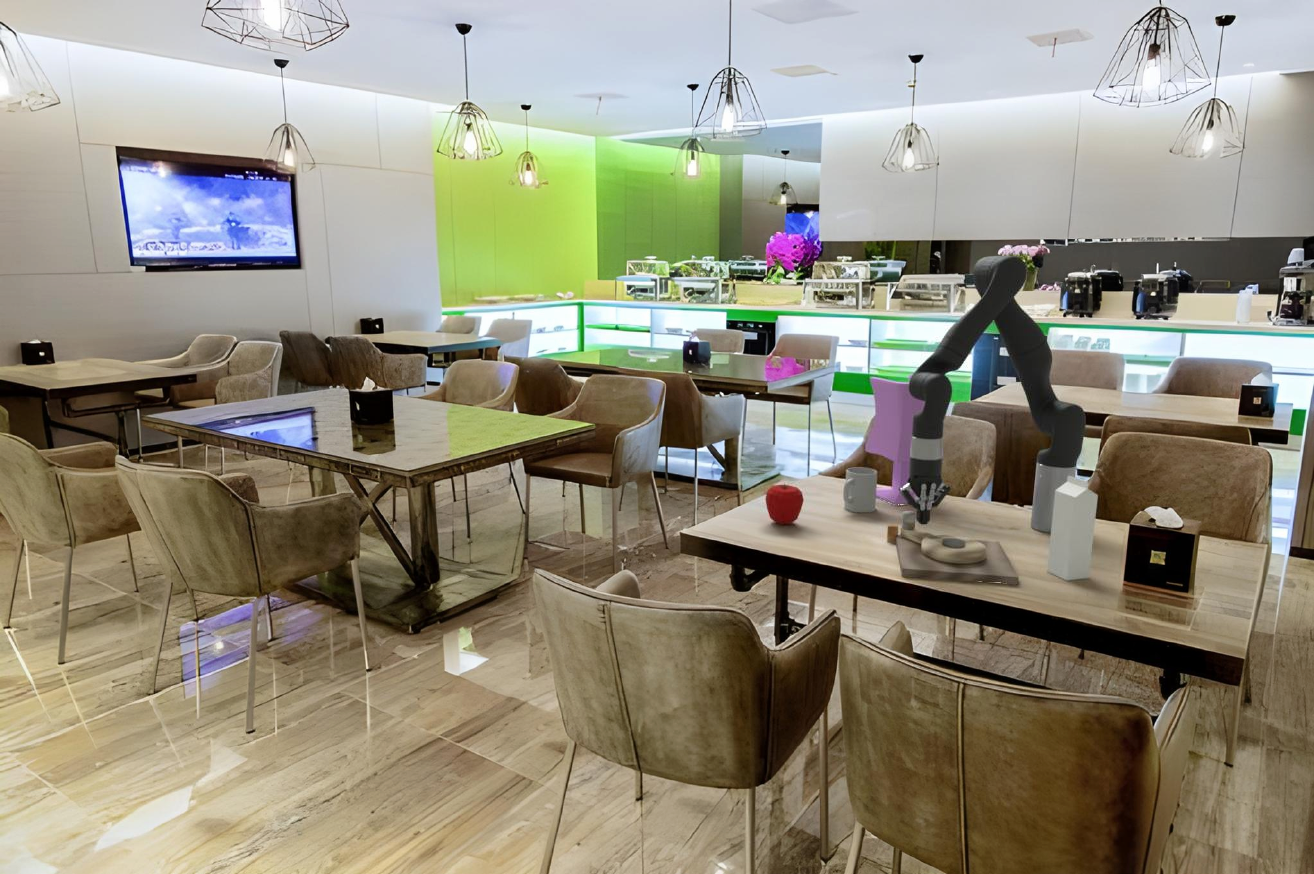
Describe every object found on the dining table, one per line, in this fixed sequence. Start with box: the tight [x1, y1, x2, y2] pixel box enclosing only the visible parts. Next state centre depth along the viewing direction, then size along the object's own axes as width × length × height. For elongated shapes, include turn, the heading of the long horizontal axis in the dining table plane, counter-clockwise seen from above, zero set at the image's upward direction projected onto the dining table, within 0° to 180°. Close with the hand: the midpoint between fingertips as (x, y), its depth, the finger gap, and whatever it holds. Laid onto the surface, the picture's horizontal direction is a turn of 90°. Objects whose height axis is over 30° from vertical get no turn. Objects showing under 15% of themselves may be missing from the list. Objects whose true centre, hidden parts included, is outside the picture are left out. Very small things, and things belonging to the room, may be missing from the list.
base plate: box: [886, 522, 1019, 585], centre depth 196 cm, size 26×26×4 cm
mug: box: [842, 466, 878, 513], centre depth 235 cm, size 12×8×11 cm
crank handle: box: [899, 510, 986, 564], centre depth 198 cm, size 22×14×6 cm, turn 29°
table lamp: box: [864, 374, 945, 506], centre depth 245 cm, size 16×16×35 cm
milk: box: [1046, 476, 1099, 581], centre depth 185 cm, size 6×6×22 cm
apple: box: [765, 483, 805, 526], centre depth 222 cm, size 10×10×11 cm
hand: (922, 523), depth 207 cm, fingers closed
